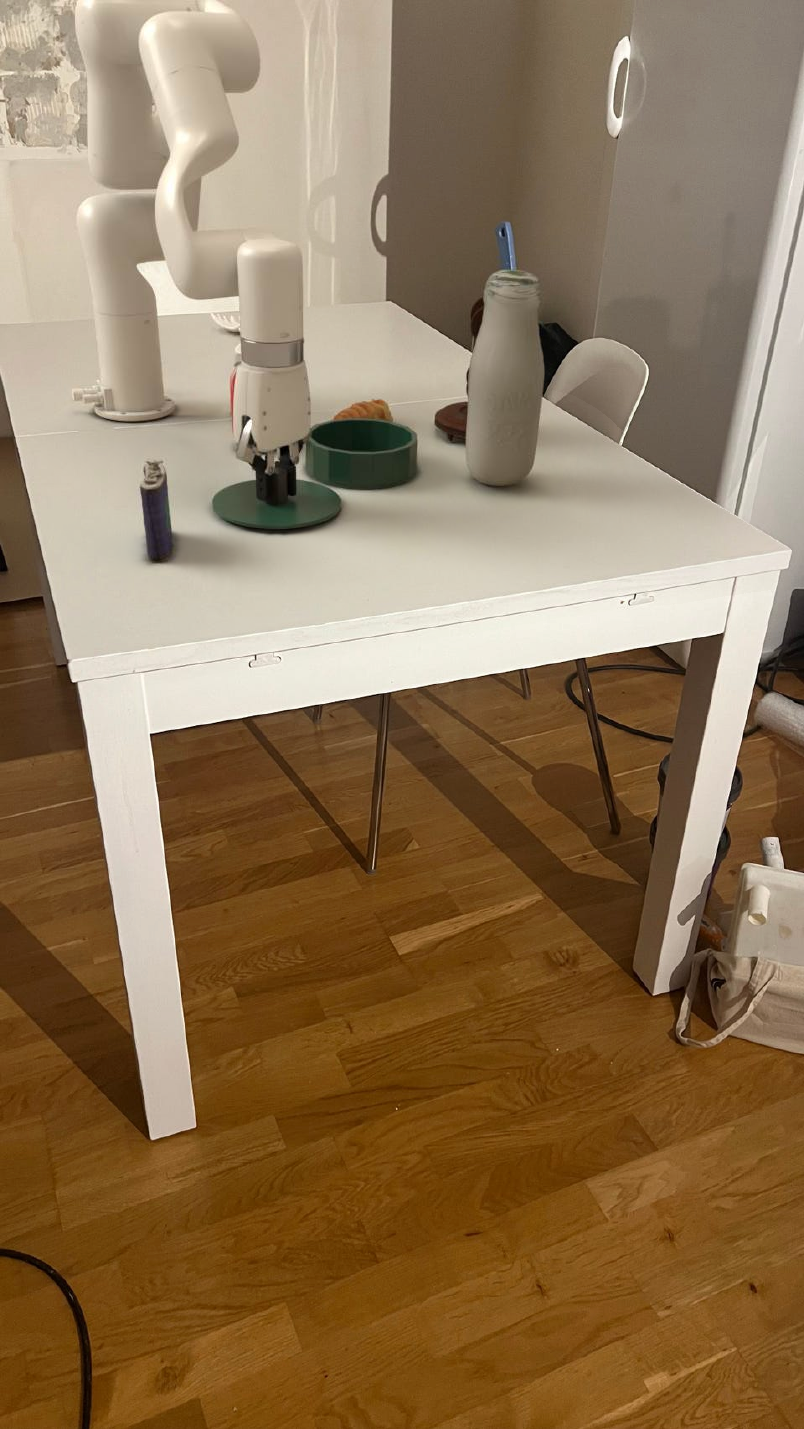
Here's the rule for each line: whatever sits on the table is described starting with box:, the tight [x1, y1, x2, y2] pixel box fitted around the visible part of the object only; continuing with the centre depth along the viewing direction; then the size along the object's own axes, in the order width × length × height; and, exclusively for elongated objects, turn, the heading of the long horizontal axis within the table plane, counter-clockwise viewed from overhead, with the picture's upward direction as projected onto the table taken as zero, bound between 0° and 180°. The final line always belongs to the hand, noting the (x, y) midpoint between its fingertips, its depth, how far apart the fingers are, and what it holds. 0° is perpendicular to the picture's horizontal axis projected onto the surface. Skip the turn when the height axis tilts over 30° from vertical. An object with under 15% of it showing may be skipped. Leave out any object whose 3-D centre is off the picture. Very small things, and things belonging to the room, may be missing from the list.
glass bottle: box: [465, 269, 545, 487], centre depth 144 cm, size 10×10×28 cm
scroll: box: [433, 296, 484, 443], centre depth 165 cm, size 15×15×20 cm
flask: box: [139, 458, 174, 563], centre depth 126 cm, size 9×3×11 cm, turn 8°
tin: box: [305, 418, 419, 490], centre depth 153 cm, size 16×16×5 cm
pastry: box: [333, 398, 394, 422], centre depth 170 cm, size 9×7×4 cm
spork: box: [210, 311, 241, 356], centre depth 210 cm, size 9×32×4 cm, turn 19°
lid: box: [211, 467, 342, 530], centre depth 139 cm, size 17×17×5 cm
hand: (276, 496), depth 140 cm, fingers closed on lid, 2 cm apart
